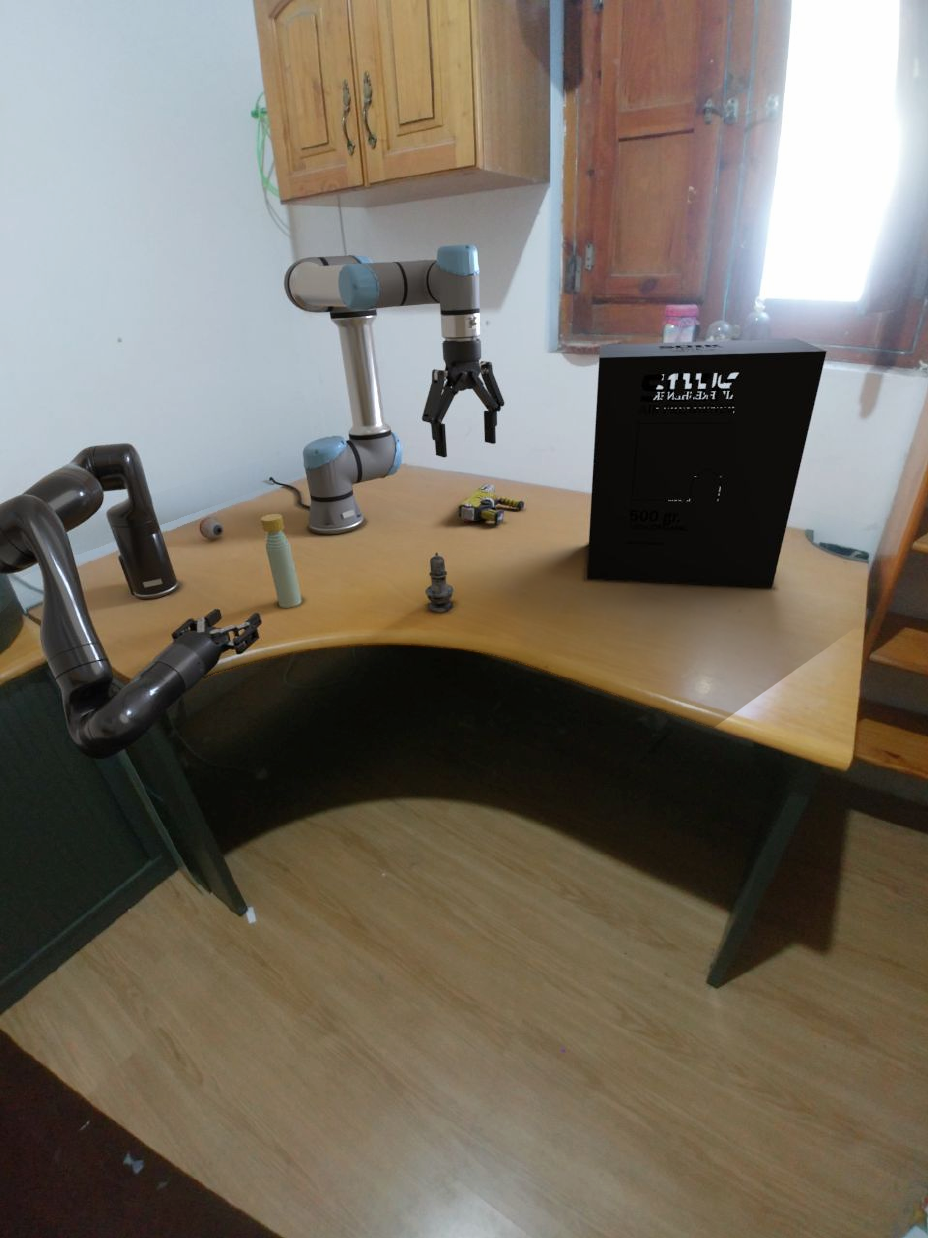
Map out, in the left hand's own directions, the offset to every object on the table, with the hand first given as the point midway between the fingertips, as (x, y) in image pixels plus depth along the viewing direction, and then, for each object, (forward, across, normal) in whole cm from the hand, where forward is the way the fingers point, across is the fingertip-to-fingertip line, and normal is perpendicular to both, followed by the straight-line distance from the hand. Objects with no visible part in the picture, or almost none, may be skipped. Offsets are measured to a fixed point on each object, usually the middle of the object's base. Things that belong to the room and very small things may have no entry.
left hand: (238, 615), depth 113 cm
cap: (+17, 0, -13) cm, 21 cm away
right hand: (+40, -35, -21) cm, 57 cm away
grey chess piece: (+20, -33, +6) cm, 39 cm away
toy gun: (+77, -32, +7) cm, 84 cm away
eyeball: (+46, +40, +7) cm, 61 cm away
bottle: (+17, 0, +6) cm, 18 cm away
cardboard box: (+48, -80, +6) cm, 94 cm away
